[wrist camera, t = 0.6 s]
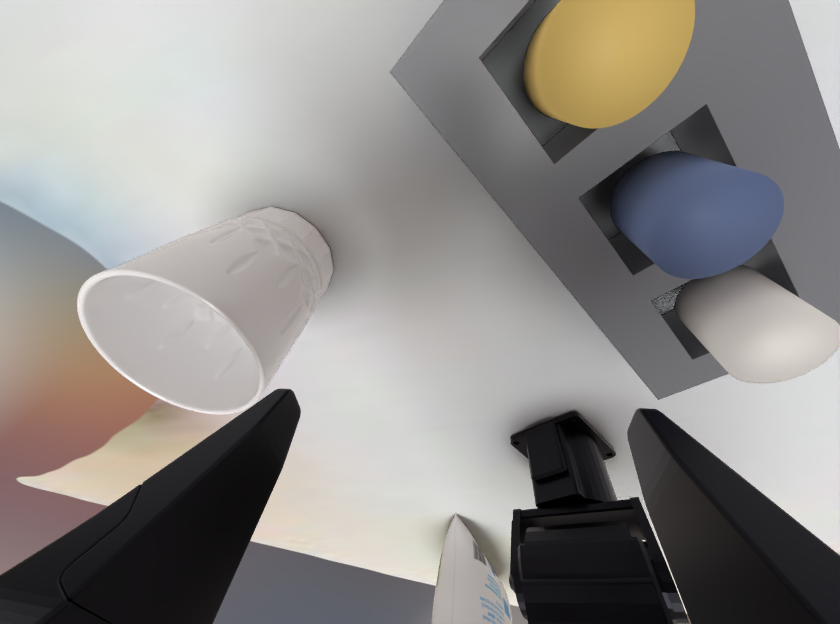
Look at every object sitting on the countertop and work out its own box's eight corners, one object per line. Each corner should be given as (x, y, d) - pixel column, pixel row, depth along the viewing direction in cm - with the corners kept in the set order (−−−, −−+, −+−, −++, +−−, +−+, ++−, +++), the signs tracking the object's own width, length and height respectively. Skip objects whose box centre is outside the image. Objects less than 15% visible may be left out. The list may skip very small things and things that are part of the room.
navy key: (721, 200, 14) (800, 234, 10) (634, 252, 15) (677, 296, 12) (684, 129, 12) (760, 142, 9) (594, 194, 14) (630, 225, 11)
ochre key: (649, 61, 11) (719, 49, 8) (557, 140, 13) (584, 156, 10) (597, -39, 10) (654, -101, 7) (503, 61, 12) (513, 49, 9)
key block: (817, 270, 18) (895, 311, 14) (631, 355, 22) (658, 399, 19) (617, -188, 11) (681, -314, 7) (407, 76, 15) (389, 72, 12)
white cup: (350, 308, 24) (284, 422, 15) (250, 302, 25) (138, 406, 16) (331, 197, 19) (225, 275, 11) (211, 195, 20) (31, 265, 12)
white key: (774, 302, 16) (854, 357, 12) (692, 338, 17) (743, 395, 14) (747, 249, 14) (826, 295, 11) (661, 293, 16) (709, 344, 13)
